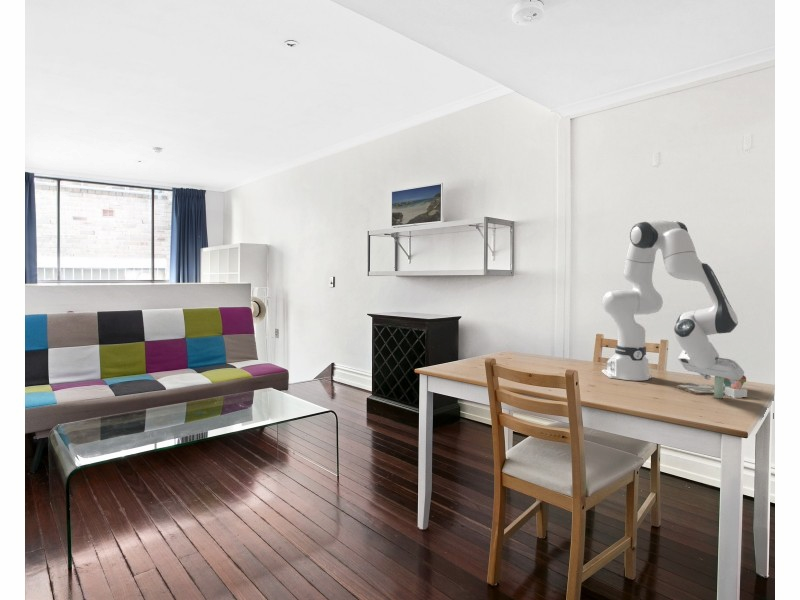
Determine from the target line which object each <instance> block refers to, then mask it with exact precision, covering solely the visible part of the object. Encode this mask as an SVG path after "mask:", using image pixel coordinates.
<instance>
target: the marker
mask: <svg viewBox="0 0 800 600" xmlns="http://www.w3.org/2000/svg"><path fill="white" fill-rule="evenodd" d="M713 387H714V394H713V397H715V399H719V398H723V399H724V394H723V390H724V389H725V384H724V378H723V377H718V376H714V386H713Z"/></svg>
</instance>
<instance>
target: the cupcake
mask: <svg viewBox="0 0 800 600" xmlns="http://www.w3.org/2000/svg"><path fill="white" fill-rule="evenodd" d="M728 380H729V379H728V378H724V388H725V387H731V384H729V382H728ZM735 381H740V382H741V388H743V387H742V386H743V385H744V383H746V382H747V377H746V375H743V376H742V378H741V379H740V380H735Z"/></svg>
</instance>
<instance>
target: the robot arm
mask: <svg viewBox="0 0 800 600" xmlns="http://www.w3.org/2000/svg"><path fill="white" fill-rule="evenodd" d="M688 230H689V229H688V227H687V225H686V224H684V223H683V222H681V221H677V220H676V221H675V220H672V221H669V220H657V221H656V220H655V221H641V222H638V223H635V224H634V225H633V226H632V228H631V230H630V232H629V238H630V243H629V246H628V249H627V253H626V258H625V262H624V267H623V268H624V269H623V276H624V278H625V280H627V281H628V282H629V283H632V289H617V290H614V289H613V290H610V291H607V292H606V293H605V294H604V295H603V297H602V301H601V303H602V304H601V305H602V308H603V310H604V311H605V312H606V313H607V314H608V315H610V317H612V319H613V321H614V323H615V326H616V331H617V332H616V333H617V344H616V345H615V350H614V352H615V353H614V354H613V355H612V356H611V357H610V358H609V359H607V361H606V363H605V364H606V369H605V368H604V369H602V370H601V373H602V374H604V375H605V376H606V377H608V378H610V379H618V380H624V381H637V382H638V381H641V382H642V381H647V380H649V379H651V378H652V377H653V376H652V374H650V368H649V367H650V364H649V359H648V358H647V356H646V355H647V346H646V329H645V328H644V326H643V325H641V324H640V323H637V321H636V320H635V315H636V316H637V315H640V316H641V315H643V316H644V315H651V314H656V313H658V312H659V311H660V310H661V309H662V308H663V307H662V306H663V303H664V302H663V298H662V295H661V293H660V292H658V291H657V290H656V288H655V286H654V283H653V272H654V265H655V260H656V255H657V252H658V250H661V254H662V259H663V264H664V267H665V270H666V273H667V274H668V275H670V277H672V278H675V279H677V280H682V281H693V282H694V281H695V282H699V283H702V284H703V285H704V287H705V289H706V291H707V293H708V295H709V298H710V300H711V301H712V306H710V307H705V308H699V309H693V310H690V311H689V310H688V311H686V312H685V311H684V312H681V314H680V315H678V317H677V320H676V322H675V325H674V327H673V333H674V336H675V338H676V340H677V343H678V344H679V346H680V347H681V348H682V351H681V352H680V354H679V355H678V358H677V360H678V361H679V363H680V364H681V365H682V367H683V369H684V370H686V371H688V372H693V373H697V374H699V375H700V376H701V377H703V378H704V380H707V381H708V380H709V381H710V380H711V378H712V376H714V377H715V376H718V377H723V378H728V379H729V380H728V382H729V384H733V385H734V384H735V382H736V381H735V380H740V379H741V378H742V376H743V375H744V374H745V371H744V370H743V368H742V367H741V366H740V365H739V363H738V362H736V360H733V359H730V358H725V357H724V358H723V357H720V354H719V352H718V351H717V349H716V348H715V346H714V344H713V343H712V342H711V341H709V337H708V336H711V335H717V334H729V333H731V332H733V331H734V330H735V328H736V327H737V326H738V323H739V321H738V315H737V314H736V312H735V311H734V309H733V307H732V306H731V304H730V302H729V300H728V298H727V296H726V294H725V292H724V290H723V288H722V285H721V284H720V282H719V280H718V278H717V275H716V274H715V272H714V271H713V269H712V268H711V266H710V265H709V264H708V263H705V262H702V261H701V260H700V259H699V257H698V255H697V252H696V248H695V245H694V243H693V240H692V237H691V236H690V234H689V231H688ZM744 376H745V375H744Z"/></svg>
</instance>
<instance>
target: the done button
mask: <svg viewBox="0 0 800 600" xmlns="http://www.w3.org/2000/svg"><path fill="white" fill-rule="evenodd" d="M731 388H732V389H741V388H742V387H741V382H740V381H736V382H735V384H734V385H733V384H731Z"/></svg>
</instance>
